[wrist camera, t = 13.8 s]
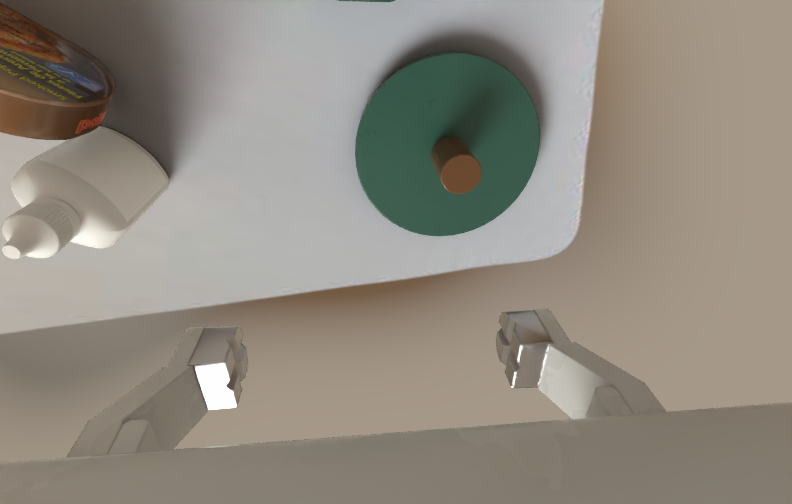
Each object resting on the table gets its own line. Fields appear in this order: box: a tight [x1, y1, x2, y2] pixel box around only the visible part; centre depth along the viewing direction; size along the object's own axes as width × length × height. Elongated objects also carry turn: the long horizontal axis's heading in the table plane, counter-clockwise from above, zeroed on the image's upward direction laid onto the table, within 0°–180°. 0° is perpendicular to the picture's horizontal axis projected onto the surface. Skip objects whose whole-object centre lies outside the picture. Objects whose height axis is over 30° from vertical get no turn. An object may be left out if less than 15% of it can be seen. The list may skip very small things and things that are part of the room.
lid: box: [355, 52, 540, 236], centre depth 29 cm, size 13×13×5 cm
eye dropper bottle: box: [2, 126, 169, 259], centre depth 24 cm, size 4×6×12 cm
